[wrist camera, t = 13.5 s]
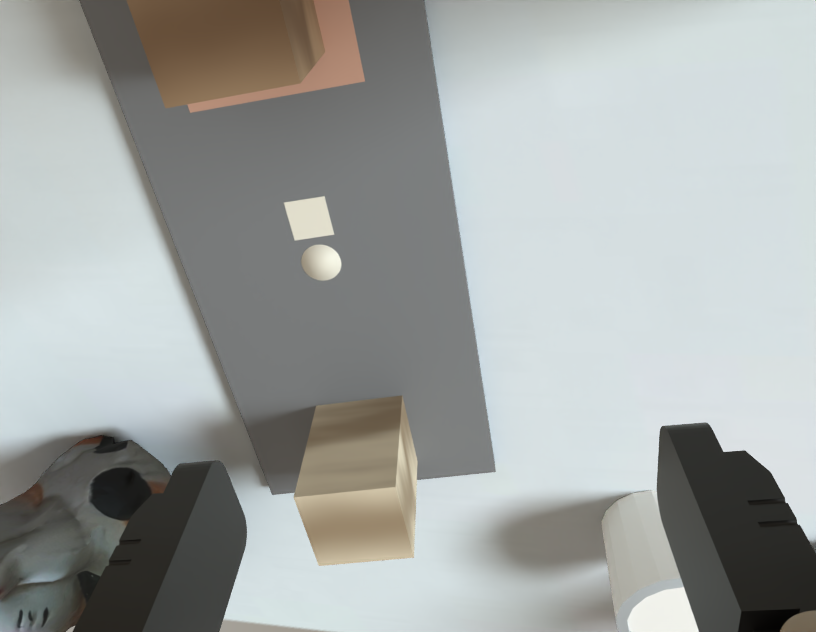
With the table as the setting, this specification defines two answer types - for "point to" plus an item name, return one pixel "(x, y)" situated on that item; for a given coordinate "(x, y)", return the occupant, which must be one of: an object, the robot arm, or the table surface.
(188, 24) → the walnut block
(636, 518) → the white cylinder
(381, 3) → the board
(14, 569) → the lucky cat figurine
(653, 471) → the table surface
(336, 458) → the pale birch block
